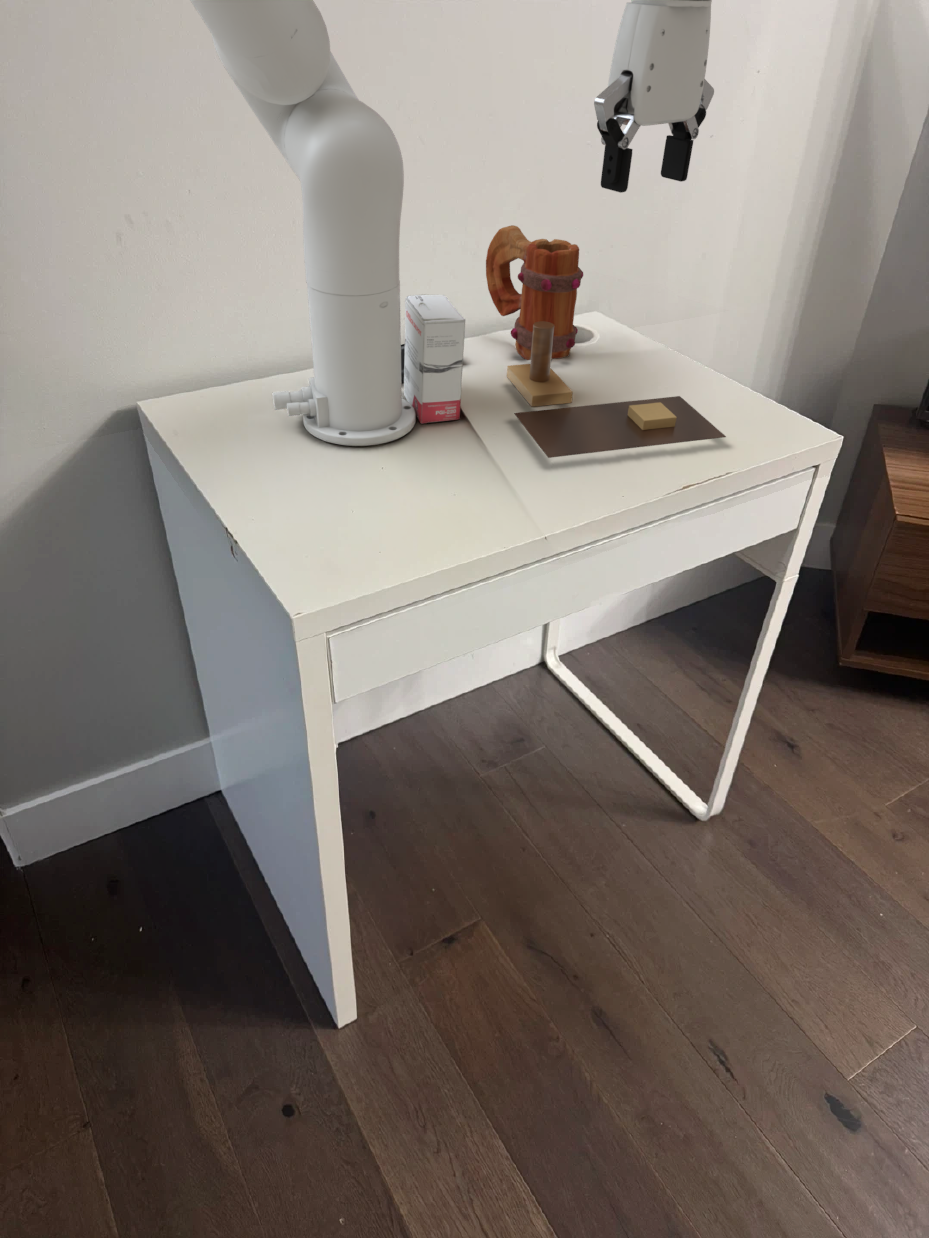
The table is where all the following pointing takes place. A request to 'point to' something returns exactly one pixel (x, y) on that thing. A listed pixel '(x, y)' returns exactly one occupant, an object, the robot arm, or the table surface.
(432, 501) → the table surface
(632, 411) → the tan rectangular block
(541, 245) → the mug
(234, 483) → the table surface
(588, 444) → the board
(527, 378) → the wooden rubber stamp
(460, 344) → the ink box
